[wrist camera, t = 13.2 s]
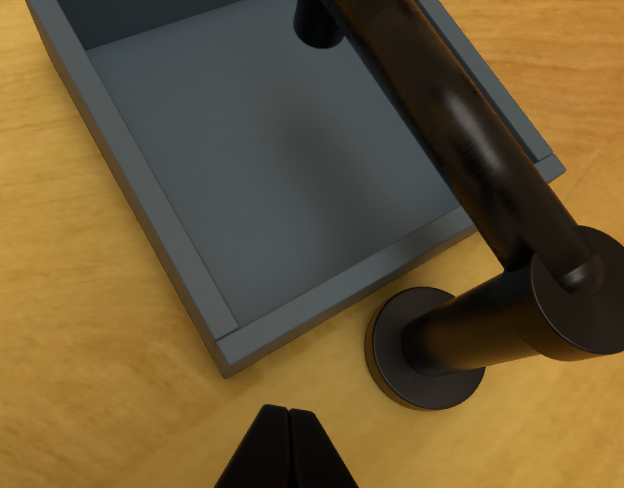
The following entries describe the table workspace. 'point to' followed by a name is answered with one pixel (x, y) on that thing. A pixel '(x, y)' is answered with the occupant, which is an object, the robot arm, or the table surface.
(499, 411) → the table surface
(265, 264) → the sink
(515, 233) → the spout
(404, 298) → the tap column
